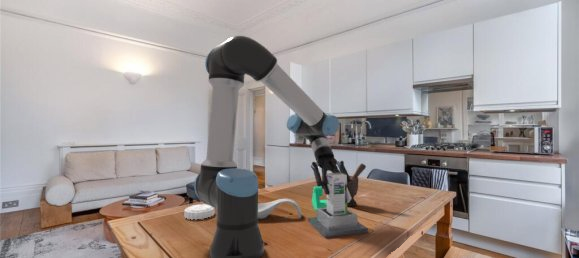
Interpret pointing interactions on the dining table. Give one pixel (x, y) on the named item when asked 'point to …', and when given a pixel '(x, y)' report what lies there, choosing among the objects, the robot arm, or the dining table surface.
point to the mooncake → (199, 211)
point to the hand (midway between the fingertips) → (341, 201)
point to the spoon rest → (267, 208)
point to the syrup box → (337, 193)
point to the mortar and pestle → (354, 185)
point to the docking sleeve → (336, 224)
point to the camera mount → (316, 200)
